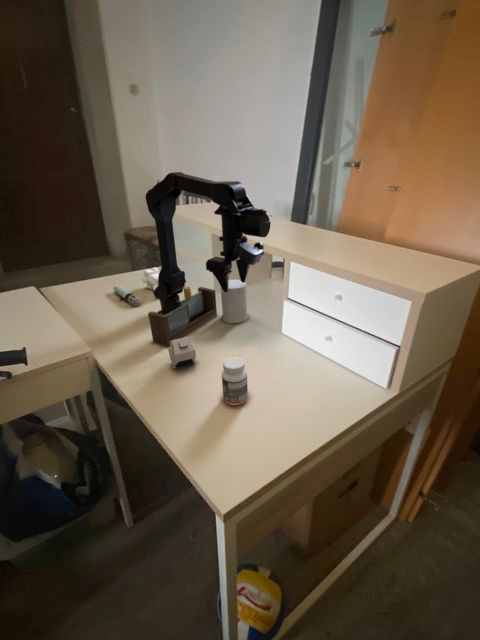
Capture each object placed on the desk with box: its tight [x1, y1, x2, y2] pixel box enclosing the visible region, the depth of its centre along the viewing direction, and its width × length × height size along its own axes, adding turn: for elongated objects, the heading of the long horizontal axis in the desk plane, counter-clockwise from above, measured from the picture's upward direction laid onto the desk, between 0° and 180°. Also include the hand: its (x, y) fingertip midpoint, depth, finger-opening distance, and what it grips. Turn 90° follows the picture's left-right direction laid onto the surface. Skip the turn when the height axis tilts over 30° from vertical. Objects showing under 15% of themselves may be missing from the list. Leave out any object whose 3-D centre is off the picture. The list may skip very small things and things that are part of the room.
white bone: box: [141, 267, 160, 291], centre depth 137 cm, size 15×9×8 cm, turn 37°
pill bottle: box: [221, 356, 249, 406], centre depth 79 cm, size 6×6×10 cm
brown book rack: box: [147, 286, 218, 348], centre depth 110 cm, size 6×24×10 cm, turn 150°
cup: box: [220, 279, 248, 324], centre depth 116 cm, size 8×8×12 cm
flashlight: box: [112, 285, 142, 308], centre depth 132 cm, size 3×4×20 cm
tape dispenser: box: [168, 336, 197, 369], centre depth 92 cm, size 6×7×10 cm
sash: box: [180, 286, 204, 317], centre depth 113 cm, size 2×10×10 cm, turn 151°
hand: (234, 286), depth 104 cm, fingers open, 9 cm apart
